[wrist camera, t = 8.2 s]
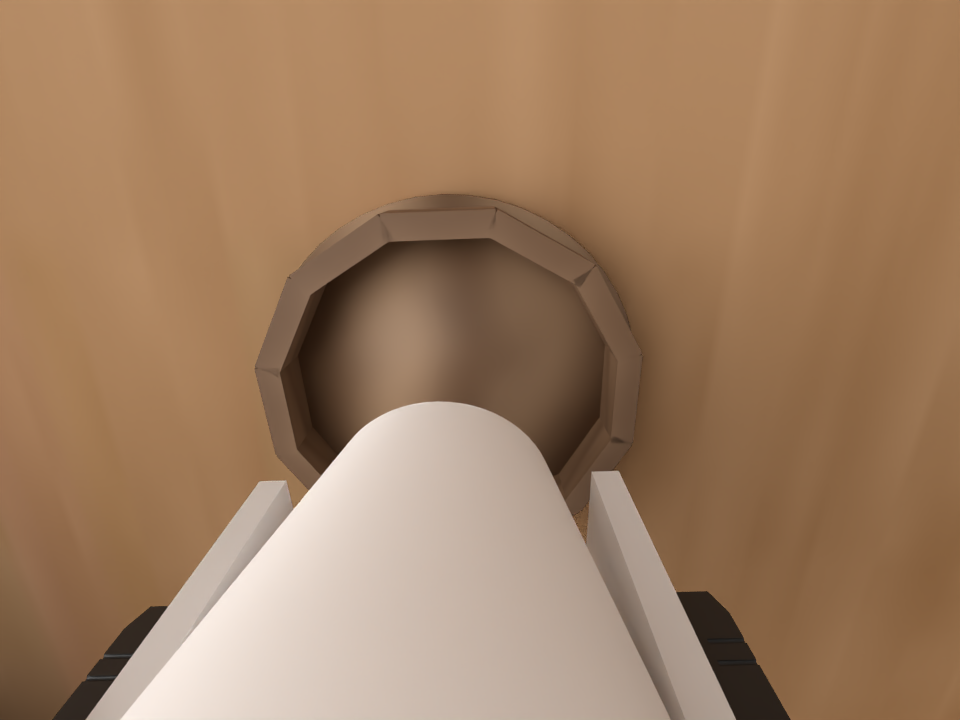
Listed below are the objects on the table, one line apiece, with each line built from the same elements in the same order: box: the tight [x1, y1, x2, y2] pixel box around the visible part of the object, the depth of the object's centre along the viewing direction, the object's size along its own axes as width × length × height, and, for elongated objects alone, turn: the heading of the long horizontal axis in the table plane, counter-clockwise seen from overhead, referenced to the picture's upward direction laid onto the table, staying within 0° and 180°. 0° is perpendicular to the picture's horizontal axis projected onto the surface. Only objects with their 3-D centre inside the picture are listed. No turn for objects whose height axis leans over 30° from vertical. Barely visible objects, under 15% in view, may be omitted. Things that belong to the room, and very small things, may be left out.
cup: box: [120, 401, 671, 720], centre depth 8 cm, size 9×9×12 cm
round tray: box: [255, 194, 643, 516], centre depth 20 cm, size 17×17×3 cm
